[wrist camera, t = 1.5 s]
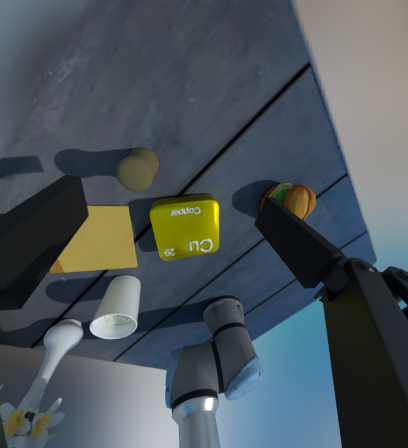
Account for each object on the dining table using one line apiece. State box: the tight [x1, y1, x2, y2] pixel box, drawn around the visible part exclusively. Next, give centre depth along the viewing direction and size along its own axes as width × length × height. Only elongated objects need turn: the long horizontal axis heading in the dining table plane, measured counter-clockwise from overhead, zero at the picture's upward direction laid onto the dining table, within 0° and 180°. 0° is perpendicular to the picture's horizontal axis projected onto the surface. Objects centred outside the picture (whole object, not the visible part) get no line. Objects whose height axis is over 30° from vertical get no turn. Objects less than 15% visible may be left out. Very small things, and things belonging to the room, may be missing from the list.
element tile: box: [150, 194, 219, 260], centre depth 39 cm, size 15×15×5 cm
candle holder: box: [90, 275, 141, 339], centre depth 42 cm, size 10×10×12 cm
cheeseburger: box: [260, 183, 316, 221], centre depth 39 cm, size 10×11×10 cm
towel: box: [50, 206, 138, 273], centre depth 38 cm, size 18×20×1 cm
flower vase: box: [0, 319, 83, 448], centre depth 40 cm, size 13×18×25 cm
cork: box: [116, 148, 159, 192], centre depth 28 cm, size 6×6×11 cm
